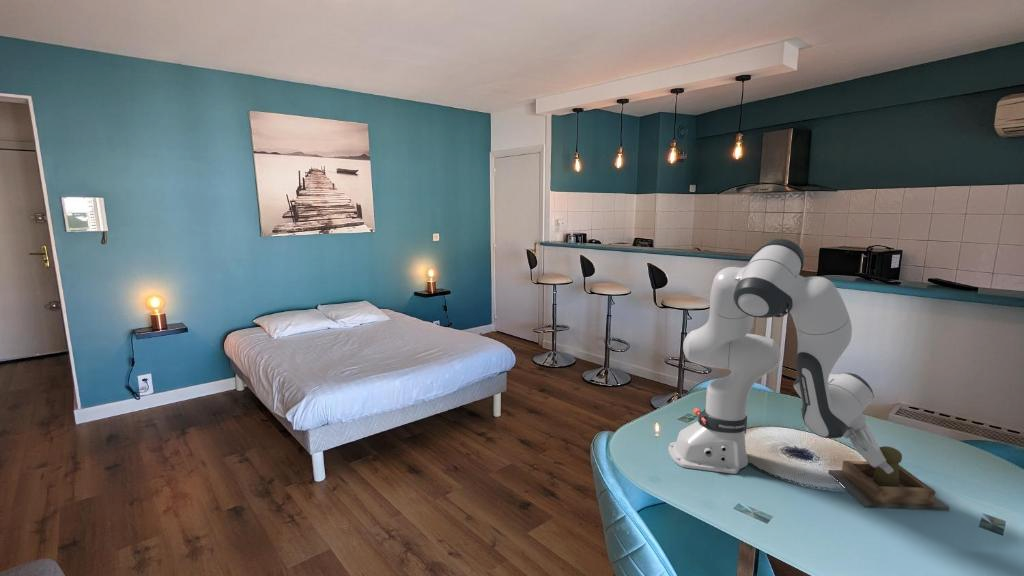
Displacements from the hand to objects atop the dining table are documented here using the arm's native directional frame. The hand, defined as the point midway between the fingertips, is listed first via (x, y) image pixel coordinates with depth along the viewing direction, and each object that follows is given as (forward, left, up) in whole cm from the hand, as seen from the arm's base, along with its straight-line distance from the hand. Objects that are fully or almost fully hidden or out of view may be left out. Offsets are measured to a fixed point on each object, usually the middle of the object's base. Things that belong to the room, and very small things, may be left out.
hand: (885, 462), depth 128 cm
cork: (0, 0, -7) cm, 7 cm away
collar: (0, 0, -8) cm, 8 cm away
